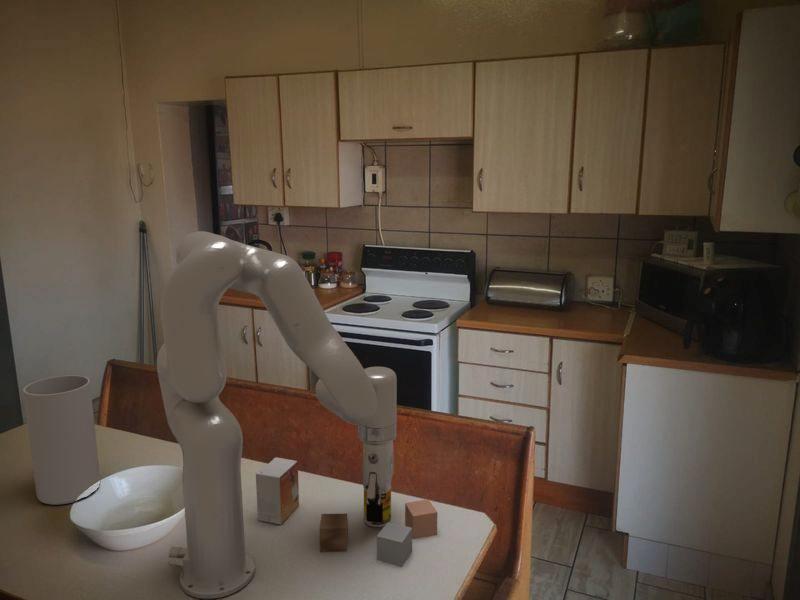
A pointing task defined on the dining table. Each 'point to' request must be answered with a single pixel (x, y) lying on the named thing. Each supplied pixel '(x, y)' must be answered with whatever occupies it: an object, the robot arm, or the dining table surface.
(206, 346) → the robot arm
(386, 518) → the supplement bottle
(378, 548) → the slate block
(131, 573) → the dining table surface
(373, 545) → the dining table surface
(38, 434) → the cylinder vase
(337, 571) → the dining table surface
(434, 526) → the terracotta block
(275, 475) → the small box
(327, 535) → the walnut block
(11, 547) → the dining table surface
